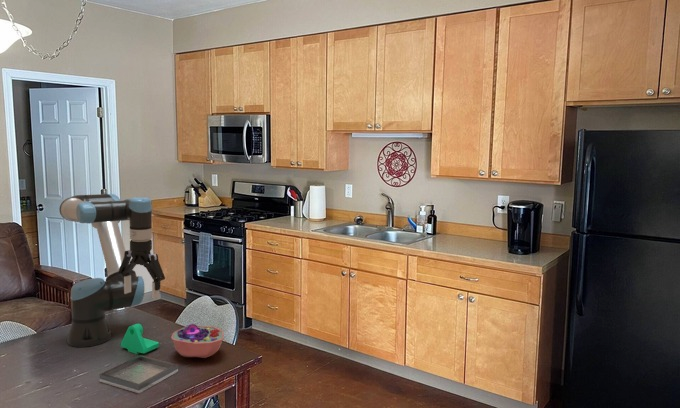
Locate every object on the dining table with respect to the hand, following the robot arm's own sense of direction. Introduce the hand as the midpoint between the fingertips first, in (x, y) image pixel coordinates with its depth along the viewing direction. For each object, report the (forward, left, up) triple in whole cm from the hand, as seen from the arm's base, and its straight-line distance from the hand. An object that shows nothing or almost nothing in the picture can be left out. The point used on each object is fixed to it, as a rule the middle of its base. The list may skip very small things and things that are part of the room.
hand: (141, 295), depth 185 cm
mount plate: (+17, -18, -21) cm, 32 cm away
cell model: (+23, +4, -21) cm, 31 cm away
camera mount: (0, -1, -21) cm, 21 cm away
